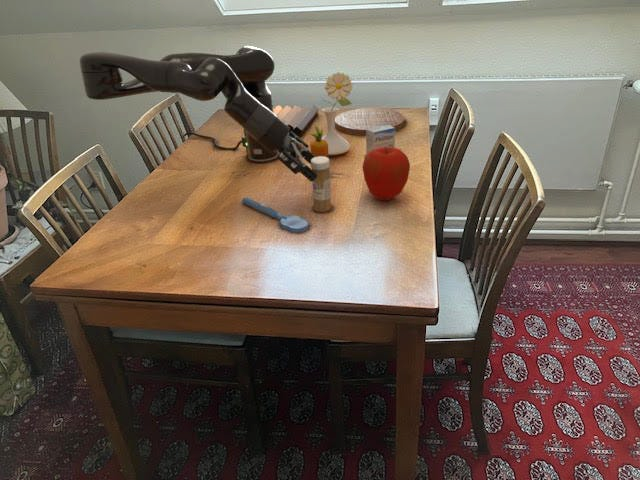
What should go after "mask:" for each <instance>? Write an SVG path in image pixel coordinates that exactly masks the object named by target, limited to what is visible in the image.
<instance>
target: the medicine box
mask: <svg viewBox="0 0 640 480" xmlns="http://www.w3.org/2000/svg"><path fill="white" fill-rule="evenodd" d="M382 147H393V148H396V131H395V128H394V127H392V126H390V125H384V126H380V127H375V128H371V129H366V135H365V156H366V155H367V154H368V153H369V152H370V151H371V150H373V149H377V148H382Z"/></svg>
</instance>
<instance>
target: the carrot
mask: <svg viewBox="0 0 640 480" xmlns="http://www.w3.org/2000/svg"><path fill="white" fill-rule="evenodd" d="M314 128H315V131H316V132H315V133H314V132H310V135H311V136H312V137H314V138H315V139H314V140H311V142H310V145H309V147H310V152H311V153H312V154H313V155H314V156H316V157H319V156H323V157H327V158H329V155H328V143H327V142H326V140H324V139H322V137H323V136H324V135H323V134H324V129H323V128H320V129H319V126H317V125H316V126H314Z"/></svg>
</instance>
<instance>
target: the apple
mask: <svg viewBox="0 0 640 480" xmlns="http://www.w3.org/2000/svg"><path fill="white" fill-rule="evenodd" d="M361 168H362V173H363V177H364V181H365V184H366V186H367V189H368V191H369V193H370V194H371V195H372V196H373V197H374V198H376V199H377V200H379V201H390V200H392V199H394V198H395V197H397V196H398V195H400V194H401V193H402V192H403V190H404V188H405V187H406V184H407V183H408V180H409V175H410V168H411V164H410V160H409V158H408V156H407V155H406V153H405V152H404V151H402V150H401V149H399V148H397V147H395V148H393V147H382V148H377V149H373V150H371V151H370V152H369V153H368V154H367V155H366V154H365V155H364V160H363V162H362V167H361Z"/></svg>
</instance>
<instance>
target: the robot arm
mask: <svg viewBox="0 0 640 480" xmlns="http://www.w3.org/2000/svg"><path fill="white" fill-rule="evenodd" d="M79 67H80V72H81V78H82V83H83V89H84V92H85V95H86V96H87V98H88V99H90V100H94V101H100V100H101V101H102V100H103V101H105V100H112V99H119V98H124V97H131V96H136V95H143V94H149V93H156V92H158V93H159V92H160V93H168V94H169V93H170V94H181V95H184V96H186V97H188V98H191V99H194V100H196V101H200V102H209V101H212V100H214V99H215V98H217V96H218V95H219V94H220V93H222V95H223V96H224V98H225V99H226V101H225V104H224V106H223V107H224V108H223V109H224V112H225V113H226V114H227V116H229V117H230V119H232V120H233V121H234V122H235V123H237V124H238V125H239V126H241V128H242V129H243V136H241V140H239V141H238V142H237V144H236V146H235V147H224V146H221V145H218V144H217V143H218V142H217V139H216V138H214V137H211V136H208V135H204V134H199V133H195V132H193V131H188V132H187V131H186V132H185V133H184V134H183V137H187V136H188V135H193V136H195V137H198V138H203V139H208V140H212V141H214V142H213V143H214V147H216V148H218V149H219V150H225V151H235V150H238V149H239V147H240V145H242V147H244V148H245V150H246V151H245V152H246V157H247V158H248V160H249V161H250V162H253V163H268V162H272V161H274V160H276V159H277V160H279V162H281V163H282V164H283V165H284V166H285V167H286V168H288V169H289V170H290V171H291V172H292V173H293V174H294V175H297V174H301V175H302V176H304V177H305V178H306V179H307V180H308V181H309V182H312V183H313V181H314V180H315V179H316V178H317V174H316V173H315V172H314V171H313V170H312V168H311V167H310V166H308V164H309V165H311V159H312V158H314V157H316V156H314V155H313V154H312V153H311V149H310V148H309V147H310V145H308V143H307V142H305V141H304V140H303V139H302V138H301V137H300V136H297V135H296V134H294V133H293V132H292V131H291V132H290V133H289V131H290V127H289V126H287V125H286V124H285V123H284V122H283V121H282V120H281V119H280V118H278V117H277V116H276V115H275V114H274V111H273V107H274V102H273V94H272V92H271V91H270V89H269V88H268V86H267V83H266V81H267V80H268V79H269V78H271V77H272V75H273V73H274V72H275V61H274V59H273V57H272V56H271V55H270V54H269V52H267V51H266V50H263V49H262V48H257V47H254V46H252V45H251V46H249V45H246V46H243V47H241V48H239V49H238V51H237V52H236V53H235V54H229V55H227V54H224V55H223V54H216V53H205V52H178V53H171V54H168V55H165V56H163V57H162V58H161V59H160V60H152V59H148V58H147V59H145V58H141V57H138V56H137V57H136V56H132V55H127V54H121V53H115V52H107V51H95V52H87V53H84V54H82V55H81V56H80V58H79ZM122 71H124V72H126V73H128V74H129V75H131V76H132V77H134V79H131V80H128V81H126V82H124V80H123V74H122ZM303 159H304V160H305V161H306V162H307V163H308V164H306V163H305V162H304V160H303Z"/></svg>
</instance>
